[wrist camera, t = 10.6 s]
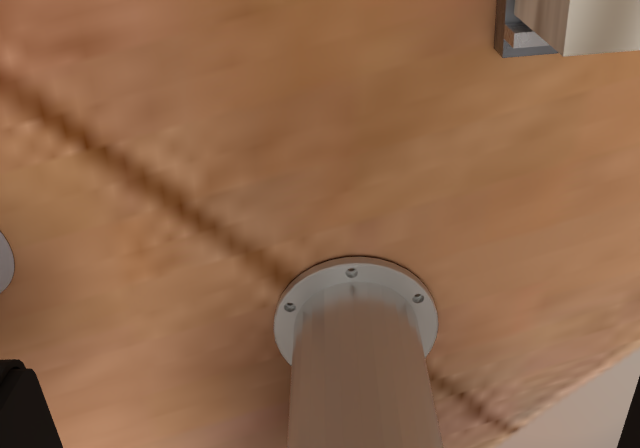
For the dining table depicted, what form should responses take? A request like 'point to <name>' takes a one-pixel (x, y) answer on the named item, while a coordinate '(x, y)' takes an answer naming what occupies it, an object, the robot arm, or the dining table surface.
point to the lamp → (5, 263)
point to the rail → (516, 34)
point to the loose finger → (583, 24)
